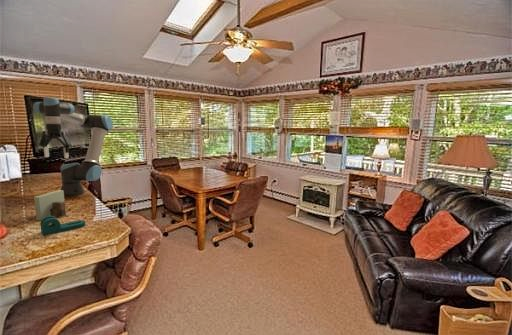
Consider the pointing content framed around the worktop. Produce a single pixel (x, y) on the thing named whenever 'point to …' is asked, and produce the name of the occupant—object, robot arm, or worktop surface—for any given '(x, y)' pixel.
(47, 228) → the bracket
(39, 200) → the sage slotted plate
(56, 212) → the walnut slotted plate
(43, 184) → the worktop surface
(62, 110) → the robot arm
